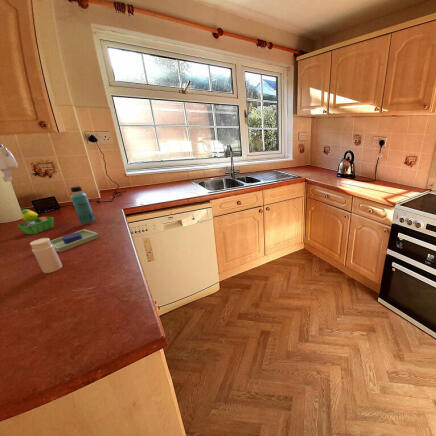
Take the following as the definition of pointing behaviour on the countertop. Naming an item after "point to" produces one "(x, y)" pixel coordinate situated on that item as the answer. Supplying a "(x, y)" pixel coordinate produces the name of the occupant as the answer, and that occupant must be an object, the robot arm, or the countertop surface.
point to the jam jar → (46, 255)
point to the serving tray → (86, 237)
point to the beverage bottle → (82, 206)
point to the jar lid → (71, 238)
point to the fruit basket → (34, 222)
